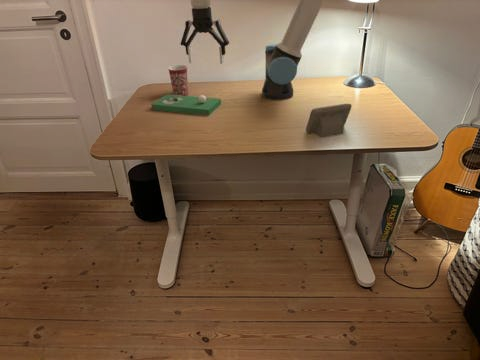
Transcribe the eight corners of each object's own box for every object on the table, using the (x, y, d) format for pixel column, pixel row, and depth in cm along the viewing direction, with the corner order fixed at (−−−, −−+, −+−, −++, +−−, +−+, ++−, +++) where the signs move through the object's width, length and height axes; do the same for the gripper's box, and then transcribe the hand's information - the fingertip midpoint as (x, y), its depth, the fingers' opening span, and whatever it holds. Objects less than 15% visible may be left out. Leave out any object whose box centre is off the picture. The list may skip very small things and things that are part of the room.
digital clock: (344, 125, 135) (347, 99, 130) (352, 135, 128) (356, 108, 122) (303, 128, 135) (304, 102, 129) (308, 139, 127) (311, 111, 121)
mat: (221, 104, 160) (221, 98, 159) (209, 115, 149) (208, 109, 148) (167, 99, 169) (166, 94, 167) (152, 109, 158) (151, 104, 156)
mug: (189, 97, 169) (186, 69, 162) (170, 98, 169) (166, 70, 162) (191, 89, 180) (188, 62, 173) (174, 89, 180) (170, 63, 173)
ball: (207, 101, 156) (207, 94, 154) (204, 104, 153) (203, 97, 151) (200, 101, 157) (199, 93, 155) (197, 104, 154) (196, 96, 152)
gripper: (234, 4, 136) (237, 60, 147) (174, 6, 141) (182, 60, 152) (229, 7, 129) (233, 65, 141) (167, 8, 135) (175, 64, 146)
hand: (206, 62), depth 147 cm, fingers open, 13 cm apart
